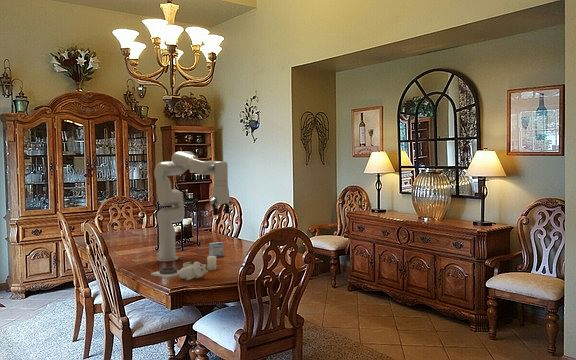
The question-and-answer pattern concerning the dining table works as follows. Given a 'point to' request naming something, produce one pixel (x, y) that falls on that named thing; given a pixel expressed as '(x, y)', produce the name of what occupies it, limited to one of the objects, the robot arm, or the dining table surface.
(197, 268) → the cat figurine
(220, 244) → the medicine box
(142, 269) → the dining table surface
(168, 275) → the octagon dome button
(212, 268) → the cream cap
